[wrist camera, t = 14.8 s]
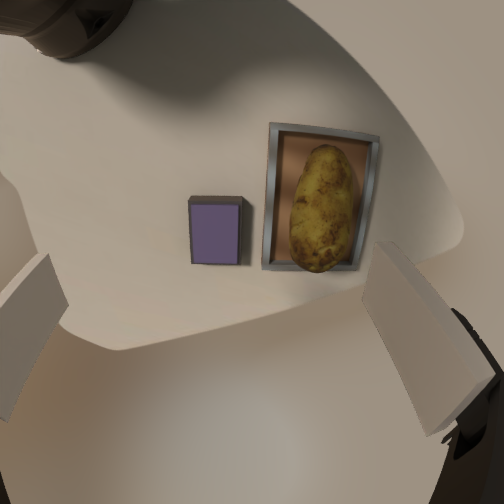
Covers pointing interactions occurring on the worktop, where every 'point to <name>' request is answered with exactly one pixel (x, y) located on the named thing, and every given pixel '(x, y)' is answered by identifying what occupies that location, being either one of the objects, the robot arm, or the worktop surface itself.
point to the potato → (321, 210)
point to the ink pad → (215, 229)
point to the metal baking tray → (286, 179)
